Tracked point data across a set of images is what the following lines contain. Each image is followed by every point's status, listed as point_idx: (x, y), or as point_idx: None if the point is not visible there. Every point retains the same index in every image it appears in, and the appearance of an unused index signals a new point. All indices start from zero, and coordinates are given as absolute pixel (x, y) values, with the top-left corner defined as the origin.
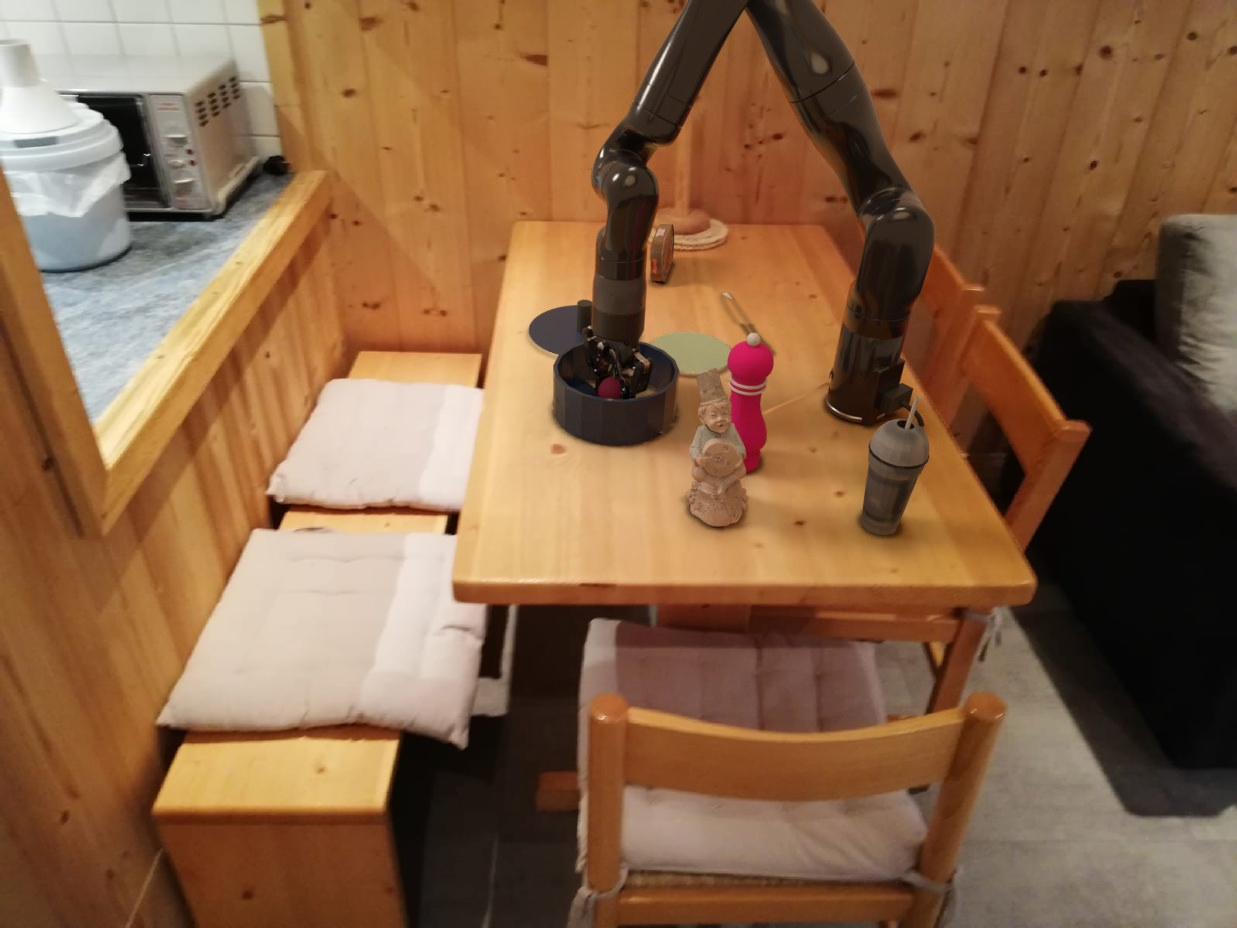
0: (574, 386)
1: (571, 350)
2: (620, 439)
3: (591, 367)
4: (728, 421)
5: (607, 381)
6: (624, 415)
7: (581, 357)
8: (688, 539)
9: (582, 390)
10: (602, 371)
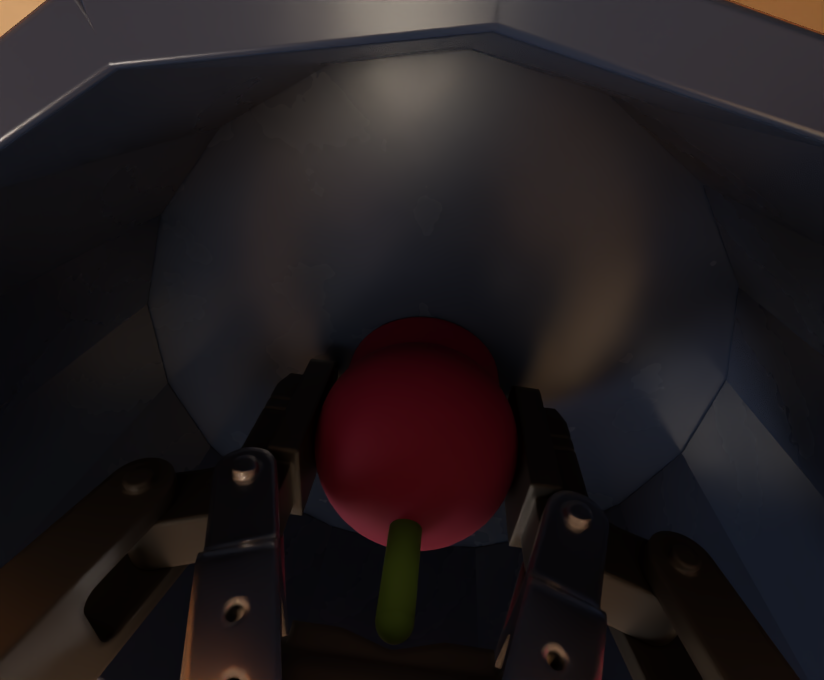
0: (165, 376)
1: None
2: None
3: (90, 335)
4: None
5: (383, 544)
6: None
7: (34, 457)
8: None
9: (211, 371)
10: (281, 522)
